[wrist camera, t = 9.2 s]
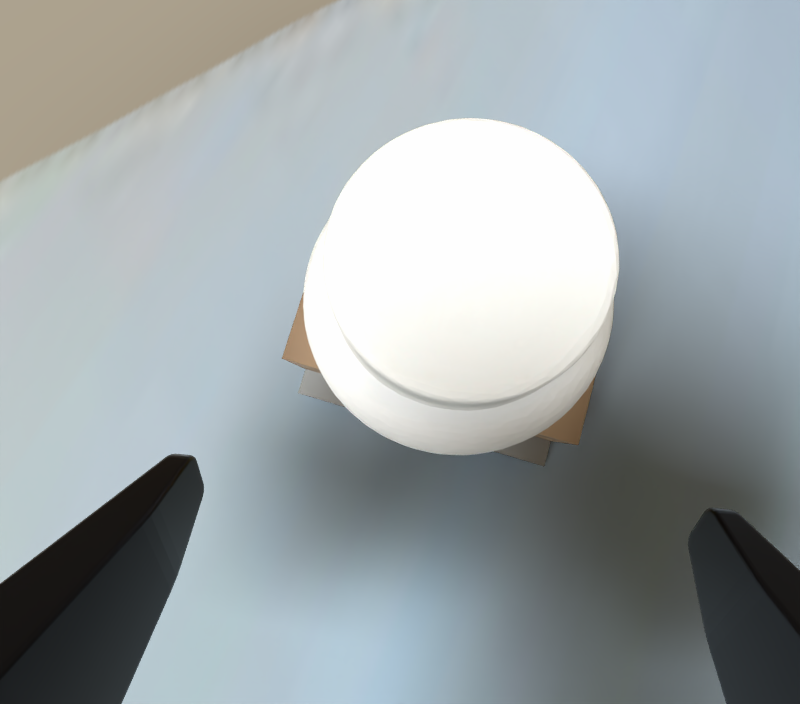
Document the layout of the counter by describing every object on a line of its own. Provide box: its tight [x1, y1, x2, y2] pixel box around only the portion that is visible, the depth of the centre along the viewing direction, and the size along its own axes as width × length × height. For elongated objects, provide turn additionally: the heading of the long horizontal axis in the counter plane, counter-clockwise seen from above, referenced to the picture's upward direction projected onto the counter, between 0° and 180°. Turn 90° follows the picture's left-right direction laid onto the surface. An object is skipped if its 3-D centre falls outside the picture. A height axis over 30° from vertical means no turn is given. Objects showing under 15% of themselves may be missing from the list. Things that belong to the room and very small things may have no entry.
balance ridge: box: [282, 292, 596, 466], centre depth 19 cm, size 10×6×4 cm, turn 74°
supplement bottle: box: [303, 118, 619, 455], centre depth 12 cm, size 6×6×10 cm
